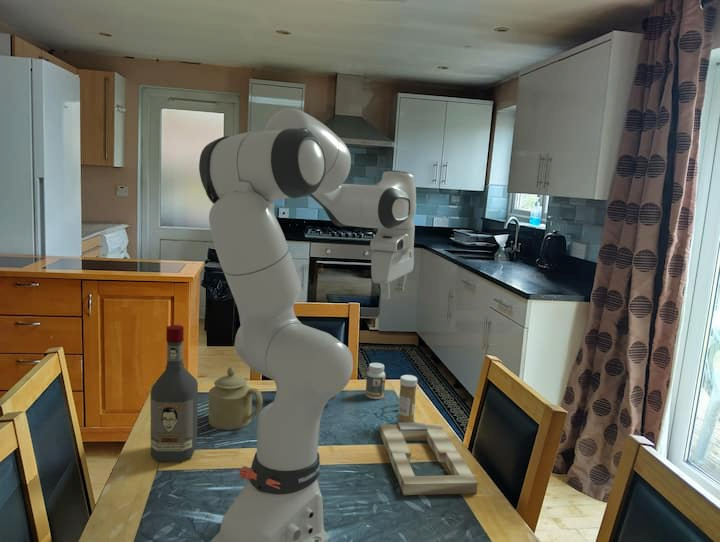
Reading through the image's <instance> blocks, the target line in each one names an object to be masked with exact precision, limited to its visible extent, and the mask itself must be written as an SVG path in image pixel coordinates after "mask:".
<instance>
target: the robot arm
mask: <svg viewBox="0 0 720 542" xmlns="http://www.w3.org/2000/svg"><path fill="white" fill-rule="evenodd" d="M263 130H264V131H260V130H259V131H258V130H253V131H247V132H243V133H238V134H235V135H231V136H229V135H228V136H223V137H220V138H217V139H215V140H213V141H211V142H209V143H208V144H206V145H205V147H204V148H203V149H202V151H201V152H200V157H199V164H198V170H199V177H200V181H201V184H202V187H203V189H204V191H205V194H206V196H207V197H208V199H209V200H210V202H211V203H212V206H211V207H210V210H209V214H208V220H209V221H208V222H209V228H210V233H211V237H212V241H213V245H214V250H215V252H216V256H217V258H218V259H217V260H218V261H219V263H220V266H221V269H222V271H223V274H224V277H225V279H226V282H227V285H228V286H229V289H230V292H231V294H232V296H233V299H234V300H233V301H234V302H235V305H236V308H237V311H238V316H239V323H240V326H239V327H238V328H237V332H236V334H235V339H234V348H235V352H236V354H237V356H238V358H240V360H242V361H243V362H244V364H246V366H248V367H249V368H250V369H251V370H252V371H254V372H255V373H258V374H260V375H262V376H264V377H266V378H268V379H270V380H272V381H274V383H275V386H276V388H275V389H276V393H275V396H274V400H273V401H272V402H270V403H269V404H267V405H266V406H265V407H263V408H262V409H261V410H260V411H259V412H260V413H258V414H259V415H258V416H257V429H256V430H257V431H256V432H257V433H256V434H257V435H256V452H255V454H254V456H253V459H252V461H251V462H252V463H251V467H250V468H249V467H248V466H245V465H244V466H242V467H241V468H240V471H239V473H238V476H239V478H241V479H242V480H243V479H245V480H246V481H247V482H246V483H245V485H244V486H243V488H242V489H241V490H240V492H239V493H238V494H237V496H236V498H235V499H234V500H233V502H232V503H231V505H230V506H229V508H228V509H227V511H226V512H225V514H224V515H223V517H222V520H221V523H220V528H219V529H220V530H219V531H218V533H217V534H216V535H215V536H214V537H213V538H212V539H211V540H210V541H209V542H329V537H328V536H329V535H328V533H327V532H326V530H325V529H324V508H323V507H324V506H323V503H324V502H323V495H322V493H321V490H320V485H319V481H318V479H319V477H320V468H321V461H320V458H321V457H320V453H319V437H320V436H319V435H320V424H321V419H322V415H323V411H324V409H325V407H326V405H327V403H328V402H329V401H328V400H329V399H331V398H332V397H334V396H336V395H339V394H340V393H342V392H343V390H344V389H345V388H346V387H347V385H348V383H349V382H350V380H351V378H352V373H353V369H354V360H353V354H352V352H351V350H350V349H349V347H348V346H347V345H346V344H344V343H343V342H341V341H340V340H339V339H338V338H336V337H334V336H333V335H332V334H330V333H329V332H326V331H323V330H320V329H317V328H314V327H311V326H308V325H305V324H303V323H302V322H301V321H300V320H299V319H298V318H297V316H296V313H295V310H294V305H296V303H297V301H298V300H299V297H300V295H301V292H302V283H301V281H300V278H299V274H298V272H297V268H296V266H295V263H294V260H293V256H292V253H291V251H290V248H289V245H288V242H287V240H286V238H285V234H284V232H283V230H282V228H281V225H280V223H279V221H278V219H277V217H276V216H275V215H276V214H275V204H276V203H275V201H280V200H285V199H291V198H292V199H299V198H303V197H306V196H310V197H311V198H312V199H313V200H314V201H316V203H317V204H319V206H321V207H322V209H323V210H324V212H325V213H326V215H327V217H328V219H329V220H330V222H331V223H332V224H333V225H335V226H337V227H357V228H368V229H377V232H376V234H375V236H374V237H373V238H371V241H370V243H369V244H370V246H369V247H370V250H372V251H371V258H370V261H371V263H370V265H371V266H370V271H371V273H370V274H371V280H372V282H373V283H374V284H379V287H380V292H381V299H382V300H383V301H388V300H390V299H391V295H392V291H391V290H390V289H391V288H390V286H391V282H394V281H395V280H396V284H395V290H394V291H395V292H396V293H402V292H404V290H405V283H406V281H407V274H410V273H412V272H413V270H414V265H415V254H414V253H415V250H414V246H415V230H416V228H415V227H416V226H415V220H414V216H415V213H416V210H417V207H416V206H417V188H416V187H417V186H416V180H415V177H414V175H413V174H411V173H409V172H407V171H401V170H386V171H383V172H382V175H381V180H380V181H379V182H378V183H376V184H375V185H374V184H373V185H371V184H370V185H369V184H352V183H346V182H345V181H346V180H347V178H348V176H349V174H350V171H351V166H352V165H351V164H352V159H351V158H352V156H351V152H350V150H349V148H348V147H347V145H346V143H345V142H344V141H343V140H342V139H341V138H340V137H339V136H338V135H337V134H336V133H334V131H333V130H331V129H330V128H329V127H328V126H326V125H325V124H324V123H323V122H321V121H320V120H318V119H317V118H315V117H313V116H312V115H310V114H308V113H306V112H304V111H302V110H300V109H298V108H293V107H290V108H284V109H281V110H279V111H277V112H275V114H273V115H272V116H271V117H270V118H269V120H268V121H267V123H266V125H265V127H264V129H263ZM344 182H345V183H344ZM336 397H337V396H336ZM334 398H335V397H334Z"/></svg>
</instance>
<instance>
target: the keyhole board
mask: <svg viewBox="0 0 720 542" xmlns="http://www.w3.org/2000/svg"><path fill="white" fill-rule="evenodd" d="M379 426H380V427H379V429H380V430H379V434H380V437H381V440H382V442H383V445H384V448H385V451H386V452H387V455H388V459H389V461H390V463H391V466H392V469H393V471H394V474H395V477H396V479H397V481H398V484H399V486H400V489H401V492H402V494H403V496H419V495H420V496H422V495H423V496H424V495H425V496H427V495H457V494H458V495H462V494H477V491H478V480H477V479H476V477H475V476H474V474H473V473H472V471H471V470H470V468H469V467H468V465H467V464H466V461H465V460H464V459H463V458H462V456H461V454H460V453H459V451H458V450H457V448H456V447H455V445H454V444H453V441H452V440H451V438H449V436H448V435H447V433H446V431H445V429H444V428H443V426H442V424H440V423H439V424H438V423H435V424H433V423H431V424H430V423H429V424H428V423H425V422H414V423H397V424H380V425H379ZM408 441H410V442H411V441H412V442H414V441H415V442H416V441H421V442H423V441H424V442H425V441H426V442H427V443H428V445H429V447H430V449H431V451H432V452H433V454H434V456H435V458H436V460H437V461H438V463H445V464H446V466H447V468H448V470H449V472H450V473H451V474H450V475H415V473H414V471H413V469H412V466H411V464H410V463H411V458H412V453H411V452H412V451H410V448H409V446H408V444H407V442H408Z"/></svg>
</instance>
